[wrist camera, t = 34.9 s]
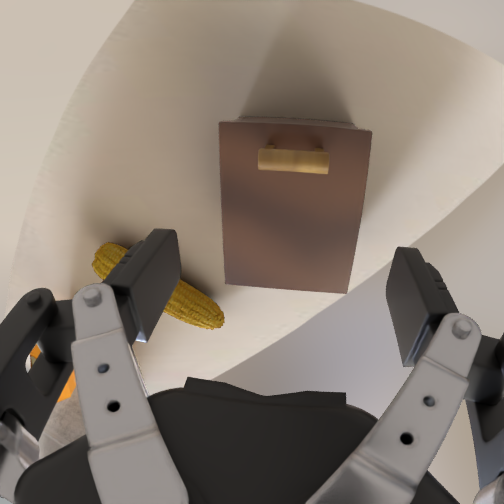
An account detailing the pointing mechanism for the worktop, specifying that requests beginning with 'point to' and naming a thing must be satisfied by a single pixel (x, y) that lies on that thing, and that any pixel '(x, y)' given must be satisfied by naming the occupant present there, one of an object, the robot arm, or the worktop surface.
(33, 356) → the orange juice
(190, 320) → the food
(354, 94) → the worktop surface
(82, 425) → the grey jug
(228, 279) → the bread lid
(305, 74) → the worktop surface
